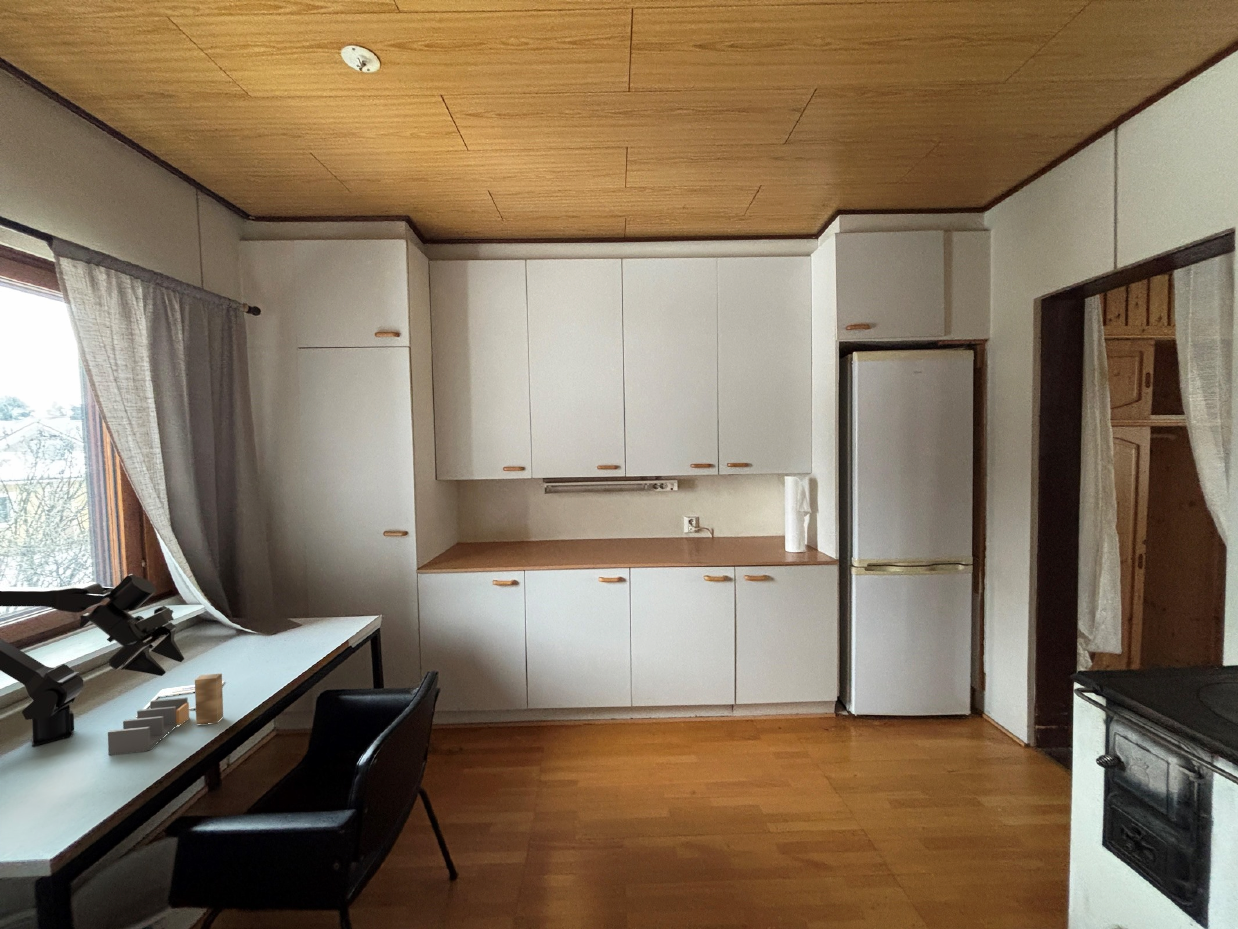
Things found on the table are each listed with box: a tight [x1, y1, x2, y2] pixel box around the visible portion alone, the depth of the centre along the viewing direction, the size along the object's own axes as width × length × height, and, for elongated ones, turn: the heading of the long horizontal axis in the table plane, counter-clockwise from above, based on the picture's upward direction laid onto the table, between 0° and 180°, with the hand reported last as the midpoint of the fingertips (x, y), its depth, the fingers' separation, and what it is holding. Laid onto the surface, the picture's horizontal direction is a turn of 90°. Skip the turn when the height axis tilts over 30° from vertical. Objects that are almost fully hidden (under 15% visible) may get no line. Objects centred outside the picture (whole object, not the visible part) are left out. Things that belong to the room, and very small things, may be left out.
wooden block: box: [194, 673, 224, 725], centre depth 140 cm, size 4×3×11 cm, turn 102°
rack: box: [107, 697, 190, 756], centre depth 134 cm, size 8×16×5 cm, turn 12°
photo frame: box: [134, 680, 226, 719], centre depth 154 cm, size 15×1×18 cm
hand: (173, 667), depth 140 cm, fingers open, 9 cm apart
